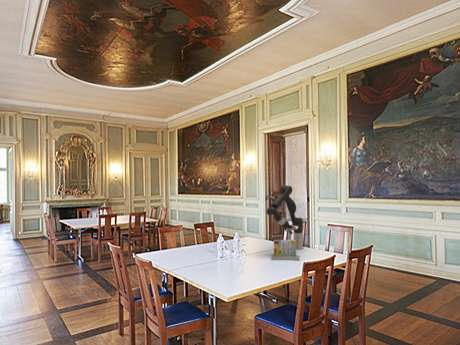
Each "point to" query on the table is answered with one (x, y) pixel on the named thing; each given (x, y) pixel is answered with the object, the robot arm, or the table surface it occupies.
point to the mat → (285, 258)
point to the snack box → (284, 247)
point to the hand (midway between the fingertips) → (294, 233)
